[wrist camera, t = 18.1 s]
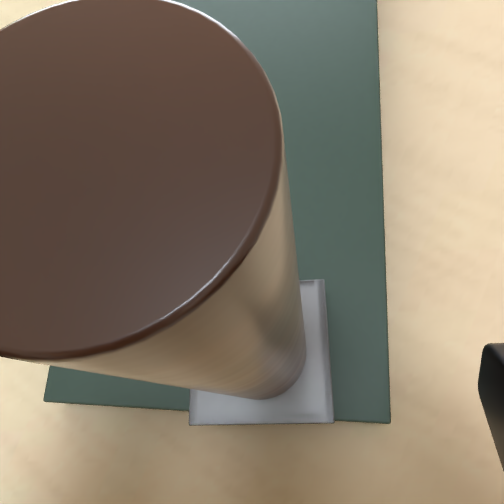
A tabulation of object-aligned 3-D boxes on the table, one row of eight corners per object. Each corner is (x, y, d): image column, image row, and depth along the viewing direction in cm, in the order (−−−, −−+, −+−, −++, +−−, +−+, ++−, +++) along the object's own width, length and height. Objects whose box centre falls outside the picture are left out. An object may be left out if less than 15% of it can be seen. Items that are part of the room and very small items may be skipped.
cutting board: (384, 422, 16) (391, 424, 15) (63, 402, 18) (42, 401, 16) (366, -202, 27) (369, -236, 26) (166, -180, 29) (158, -210, 27)
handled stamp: (332, 421, 15) (434, 486, 2) (199, 423, 16) (-297, 486, 3) (323, 290, 17) (357, -107, 4) (201, 295, 17) (-125, -38, 4)
